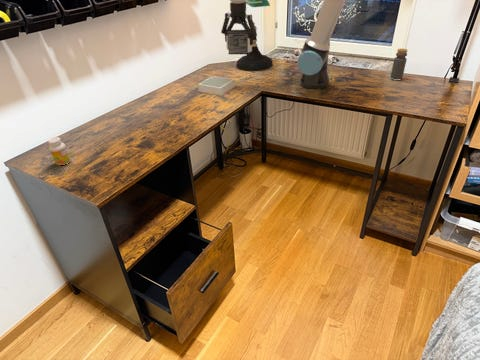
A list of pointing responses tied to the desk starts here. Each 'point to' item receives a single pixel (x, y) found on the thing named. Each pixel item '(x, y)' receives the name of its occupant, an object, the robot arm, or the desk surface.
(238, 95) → the desk surface
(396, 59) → the bottle
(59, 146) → the supplement bottle
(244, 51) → the small box
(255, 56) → the banker's lamp
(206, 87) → the base
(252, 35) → the robot arm
